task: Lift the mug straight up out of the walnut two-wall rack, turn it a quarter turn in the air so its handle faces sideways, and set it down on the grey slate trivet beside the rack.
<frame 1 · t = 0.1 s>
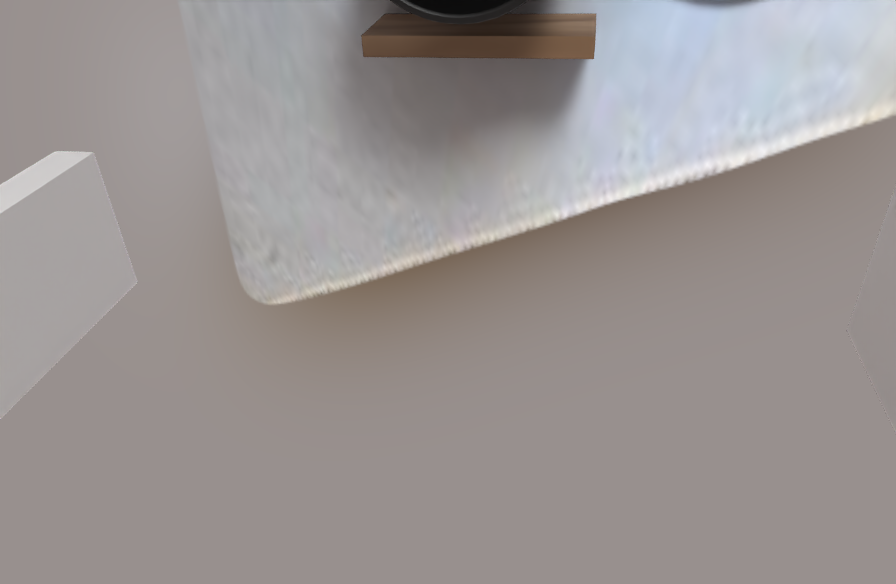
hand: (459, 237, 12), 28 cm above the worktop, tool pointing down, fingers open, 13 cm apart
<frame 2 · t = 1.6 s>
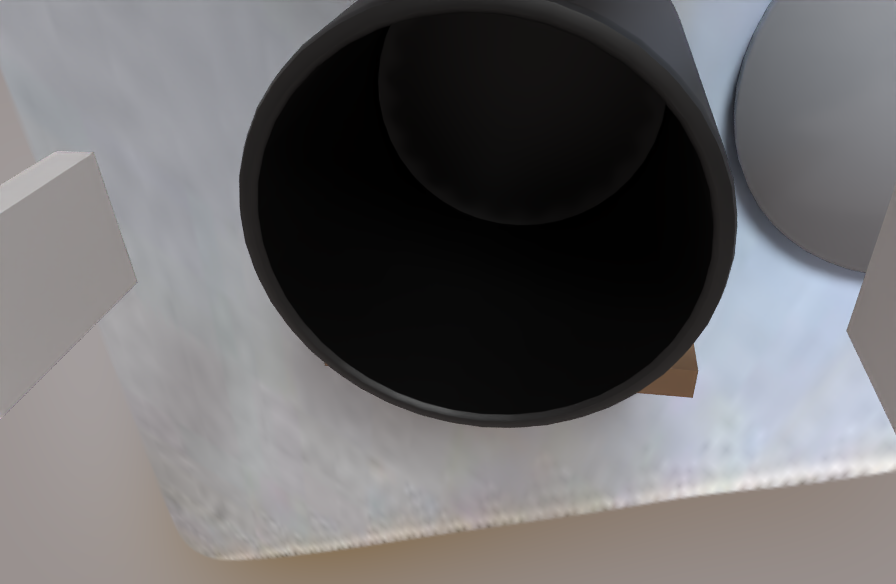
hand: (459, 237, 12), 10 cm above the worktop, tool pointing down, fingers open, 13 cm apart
rack: (518, 48, 20), on the worktop
mug: (519, 45, 20), on the worktop
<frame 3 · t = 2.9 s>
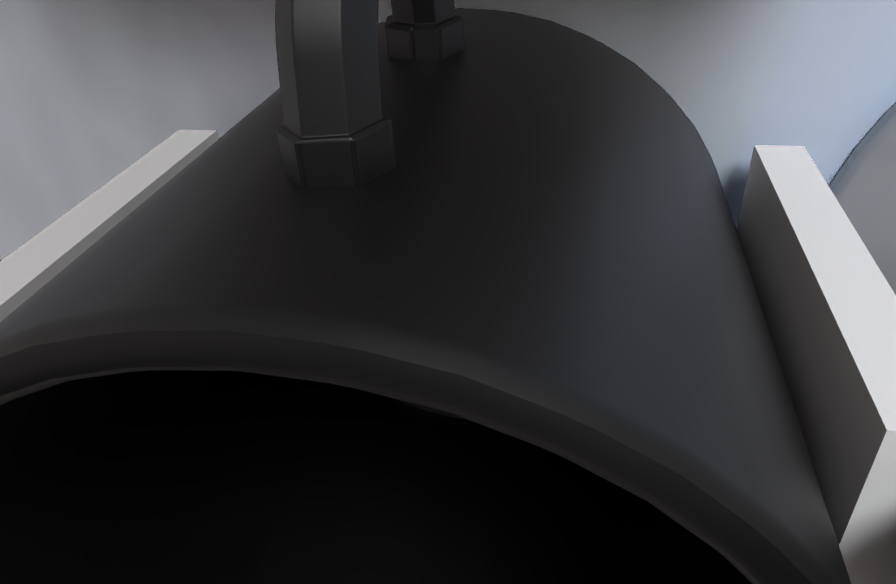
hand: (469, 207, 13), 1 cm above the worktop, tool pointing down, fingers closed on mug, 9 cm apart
mug: (474, 188, 14), on the worktop, touching gripper
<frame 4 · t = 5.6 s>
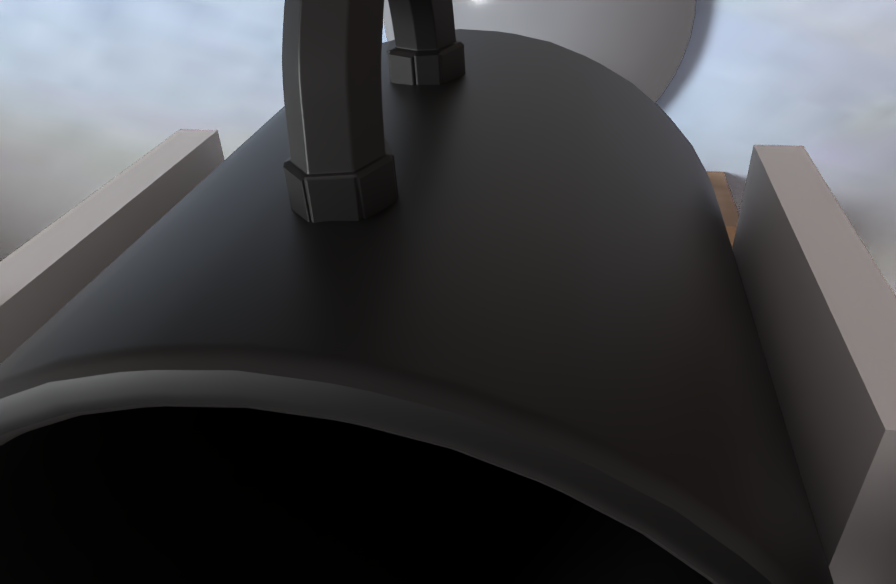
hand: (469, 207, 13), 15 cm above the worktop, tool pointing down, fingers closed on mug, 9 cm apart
rack: (506, 278, 32), on the worktop
mug: (474, 202, 14), point 15 cm above the worktop, touching gripper
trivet: (534, 11, 25), on the worktop
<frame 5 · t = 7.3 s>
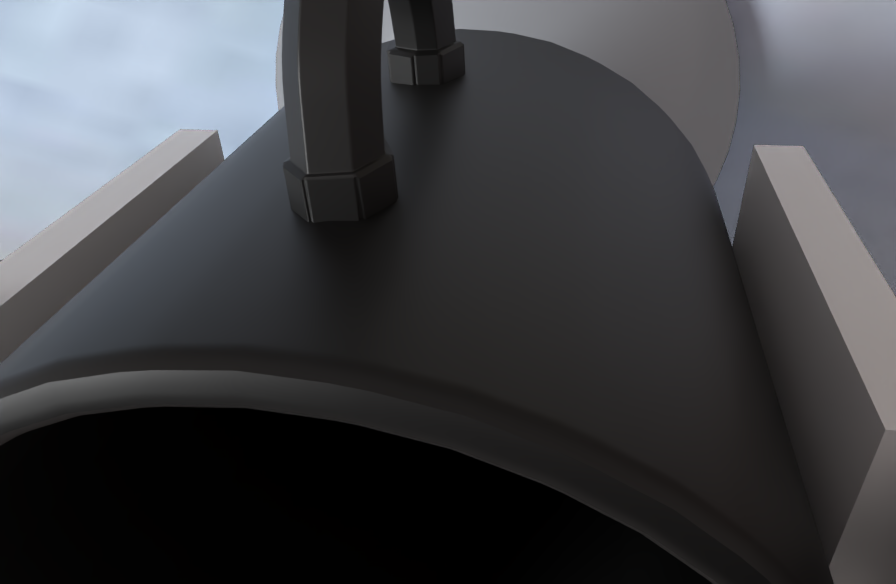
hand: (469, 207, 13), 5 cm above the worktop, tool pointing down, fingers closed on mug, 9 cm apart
mug: (474, 202, 14), point 5 cm above the worktop, touching gripper
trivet: (497, 108, 17), on the worktop
when the fingers open (2 cm above the worktop, at t = 8.5 s): mug drops 1 cm, resting on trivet.
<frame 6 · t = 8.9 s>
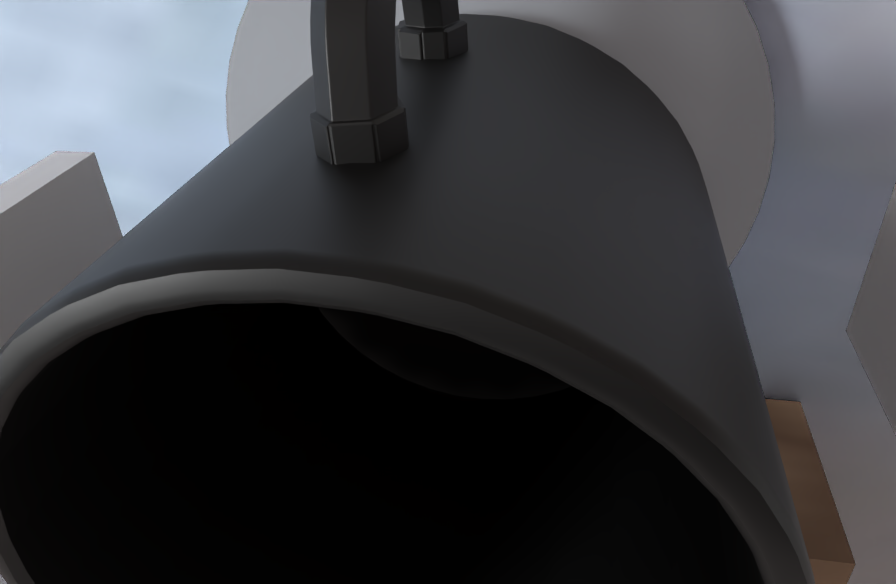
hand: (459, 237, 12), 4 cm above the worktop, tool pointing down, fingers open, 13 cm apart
rack: (458, 511, 21), on the worktop
mug: (476, 179, 15), resting on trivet
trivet: (486, 156, 15), on the worktop
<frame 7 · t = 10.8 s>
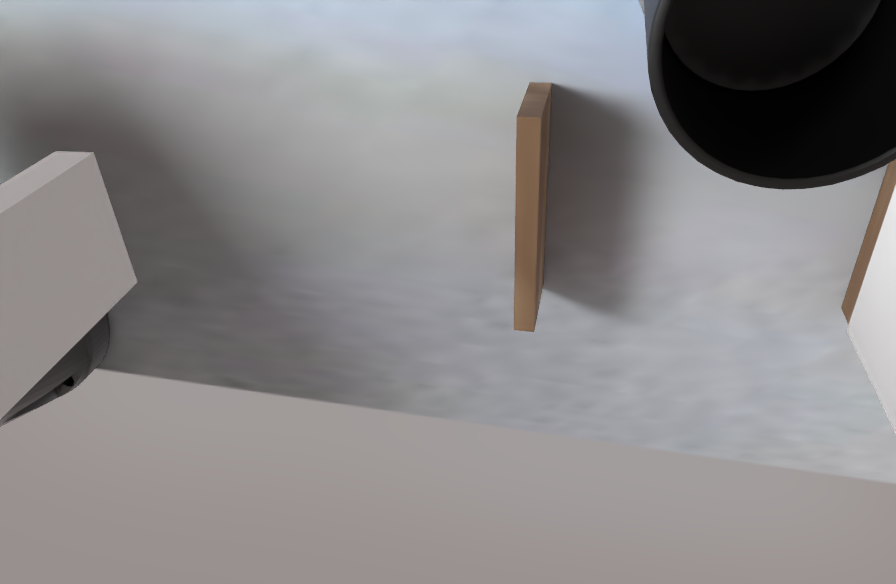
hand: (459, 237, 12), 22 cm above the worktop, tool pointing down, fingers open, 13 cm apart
rack: (703, 200, 34), on the worktop
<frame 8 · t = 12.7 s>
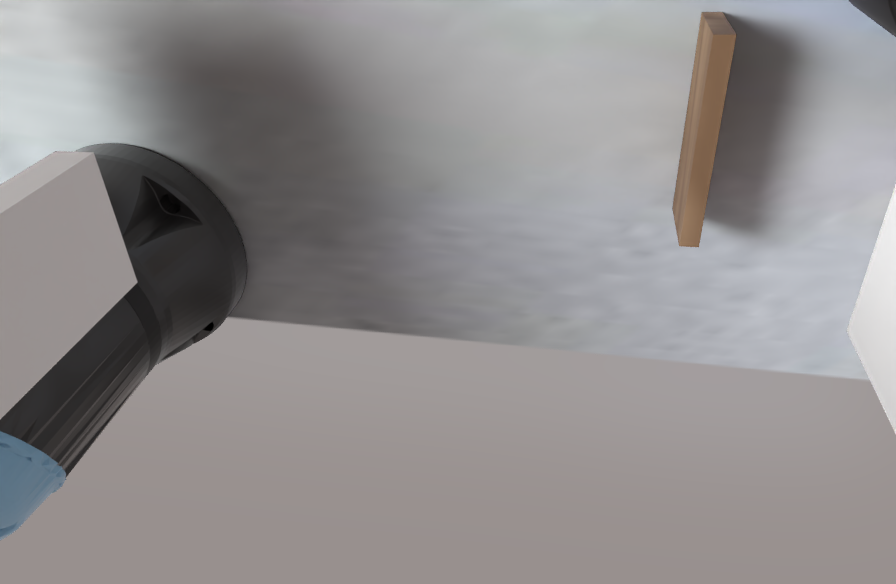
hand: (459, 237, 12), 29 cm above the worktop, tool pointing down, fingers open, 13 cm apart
rack: (853, 121, 37), on the worktop
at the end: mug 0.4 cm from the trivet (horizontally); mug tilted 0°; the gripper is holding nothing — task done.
